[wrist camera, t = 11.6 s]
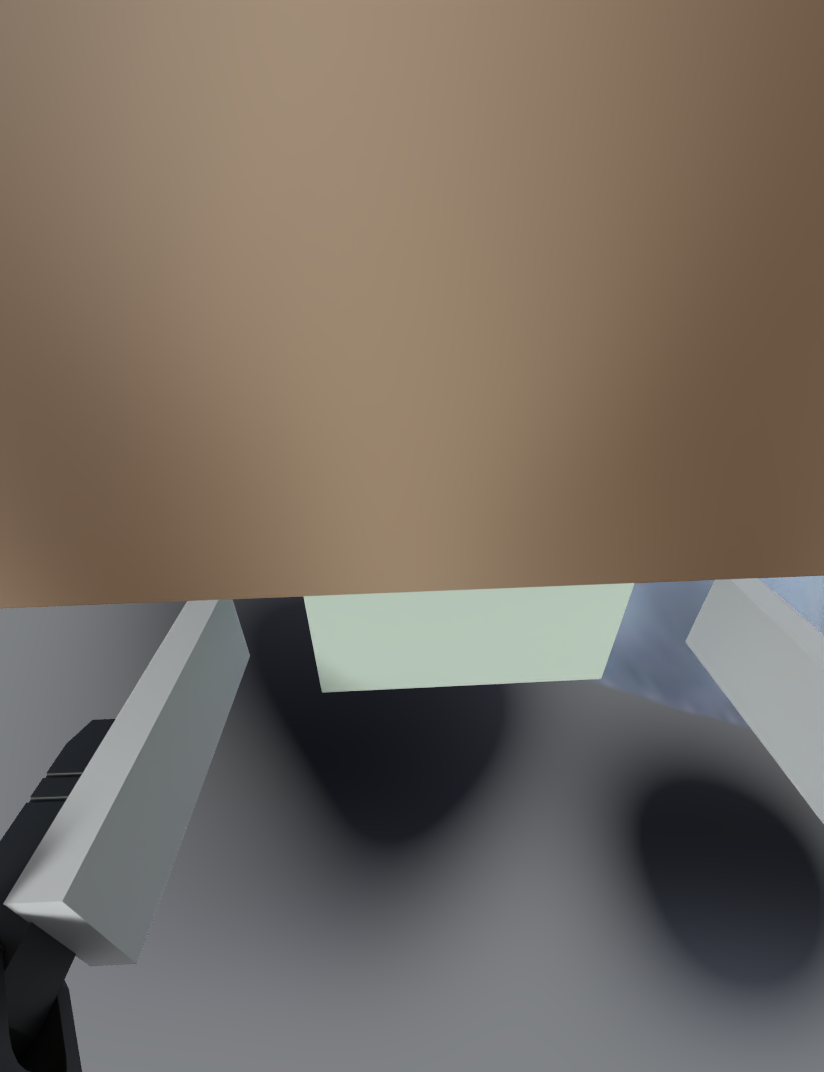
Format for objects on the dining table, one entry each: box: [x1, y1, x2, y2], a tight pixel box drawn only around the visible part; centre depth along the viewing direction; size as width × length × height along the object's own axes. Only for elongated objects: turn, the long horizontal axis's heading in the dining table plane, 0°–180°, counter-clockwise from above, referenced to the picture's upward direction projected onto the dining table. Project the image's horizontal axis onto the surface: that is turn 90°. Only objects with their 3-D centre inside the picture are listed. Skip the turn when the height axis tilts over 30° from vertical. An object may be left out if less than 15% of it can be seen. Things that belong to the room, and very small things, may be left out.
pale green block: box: [304, 583, 635, 692], centre depth 16 cm, size 8×5×11 cm, turn 91°
